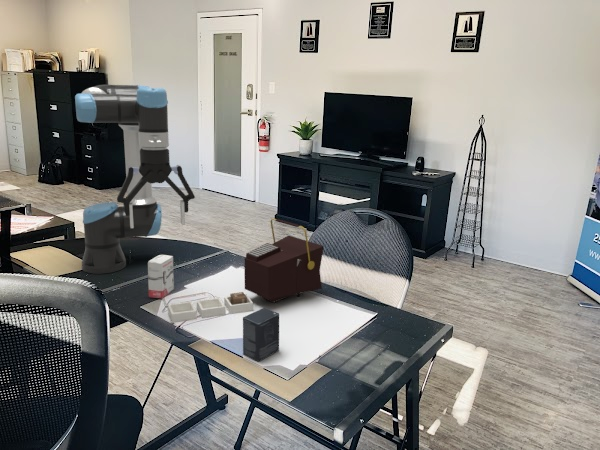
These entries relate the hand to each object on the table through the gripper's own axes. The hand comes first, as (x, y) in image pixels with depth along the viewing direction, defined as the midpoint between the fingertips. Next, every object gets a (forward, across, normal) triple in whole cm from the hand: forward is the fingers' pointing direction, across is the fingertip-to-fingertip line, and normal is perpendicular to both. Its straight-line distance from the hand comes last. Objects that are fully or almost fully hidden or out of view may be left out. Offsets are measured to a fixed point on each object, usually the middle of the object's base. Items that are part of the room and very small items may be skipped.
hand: (157, 225), depth 138 cm
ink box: (+28, +2, +18) cm, 33 cm away
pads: (+28, +14, +11) cm, 33 cm away
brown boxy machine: (+28, +38, +4) cm, 48 cm away
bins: (+28, +14, -1) cm, 31 cm away
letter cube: (+27, +23, -1) cm, 35 cm away
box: (+28, +22, -28) cm, 45 cm away
